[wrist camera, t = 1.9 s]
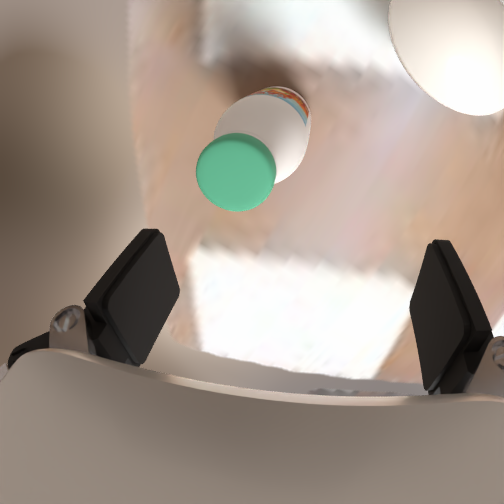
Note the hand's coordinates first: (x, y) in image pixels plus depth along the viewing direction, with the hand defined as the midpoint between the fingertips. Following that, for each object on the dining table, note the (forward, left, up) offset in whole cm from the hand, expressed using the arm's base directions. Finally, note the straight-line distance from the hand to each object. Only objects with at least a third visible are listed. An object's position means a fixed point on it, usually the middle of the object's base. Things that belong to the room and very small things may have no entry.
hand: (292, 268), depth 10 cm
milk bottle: (+4, -1, -27) cm, 28 cm away
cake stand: (-17, -7, -27) cm, 33 cm away
